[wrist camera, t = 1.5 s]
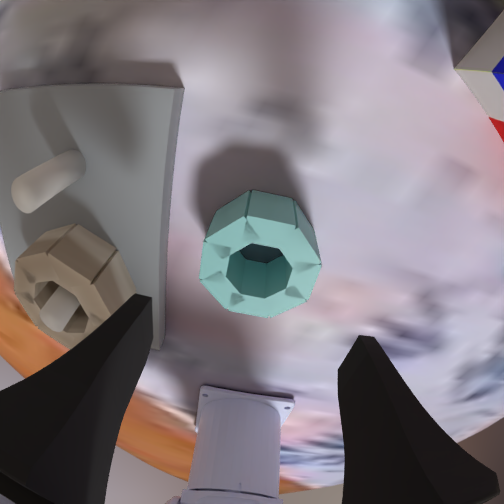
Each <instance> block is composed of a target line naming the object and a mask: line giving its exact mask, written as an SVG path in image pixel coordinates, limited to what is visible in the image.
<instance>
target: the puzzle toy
mask: <svg viewBox="0 0 504 504" xmlns="http://www.w3.org/2000/svg"><path fill="white" fill-rule="evenodd" d="M454 70H455V71H456V72H457V74H458V75H459V76H460V77H461V79H462V80H463V81H464V83H465V84H466V85H467V87H468V88H469V89H470V91H471V92H472V93H473V95H474V96H475V98H476V99H477V101H478V102H479V103H480V105H481V106H482V108H483V109H484V111H485V112H486V114H487V115H488V117H489V119H490V120H491V122H492V123H493V125H494V127H495V128H496V130H497V131H498V133H499V135H500V137H501V138H502V140H503V142H504V10H503V11H502V13H501V14H500V15H499V16H498V17H497V19H496V20H495V21H494V22H493V23H492V25H491V26H490V27H489V28H488V29H487V31H486V32H485V33H484V34H483V35H482V37H481V38H480V39H479V40H478V41H477V43H476V44H475V45H474V46H473V47H472V48H471V50H470V51H469V52H468V53H467V54H466V55H465V57H464V58H463V59H462V60H461V61H460V62H459V64H458V65H457V66H456V67H455V68H454Z"/></svg>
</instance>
